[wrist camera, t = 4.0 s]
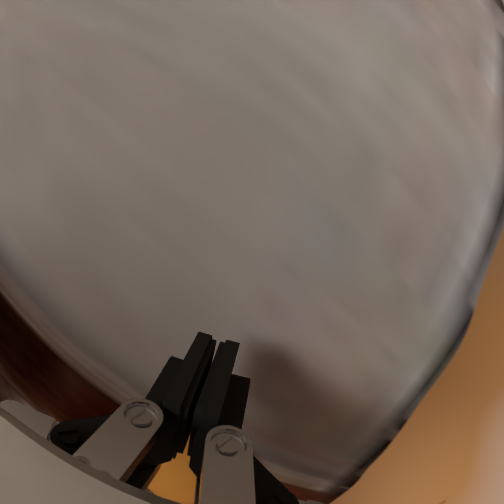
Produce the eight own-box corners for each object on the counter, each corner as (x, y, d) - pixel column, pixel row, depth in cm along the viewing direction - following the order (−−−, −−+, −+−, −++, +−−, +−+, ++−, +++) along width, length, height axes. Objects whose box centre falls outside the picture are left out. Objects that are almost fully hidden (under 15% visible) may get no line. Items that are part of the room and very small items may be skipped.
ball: (153, 400, 15) (120, 466, 10) (238, 424, 15) (225, 497, 10) (153, 443, 17) (130, 497, 11) (224, 463, 17) (212, 522, 11)
